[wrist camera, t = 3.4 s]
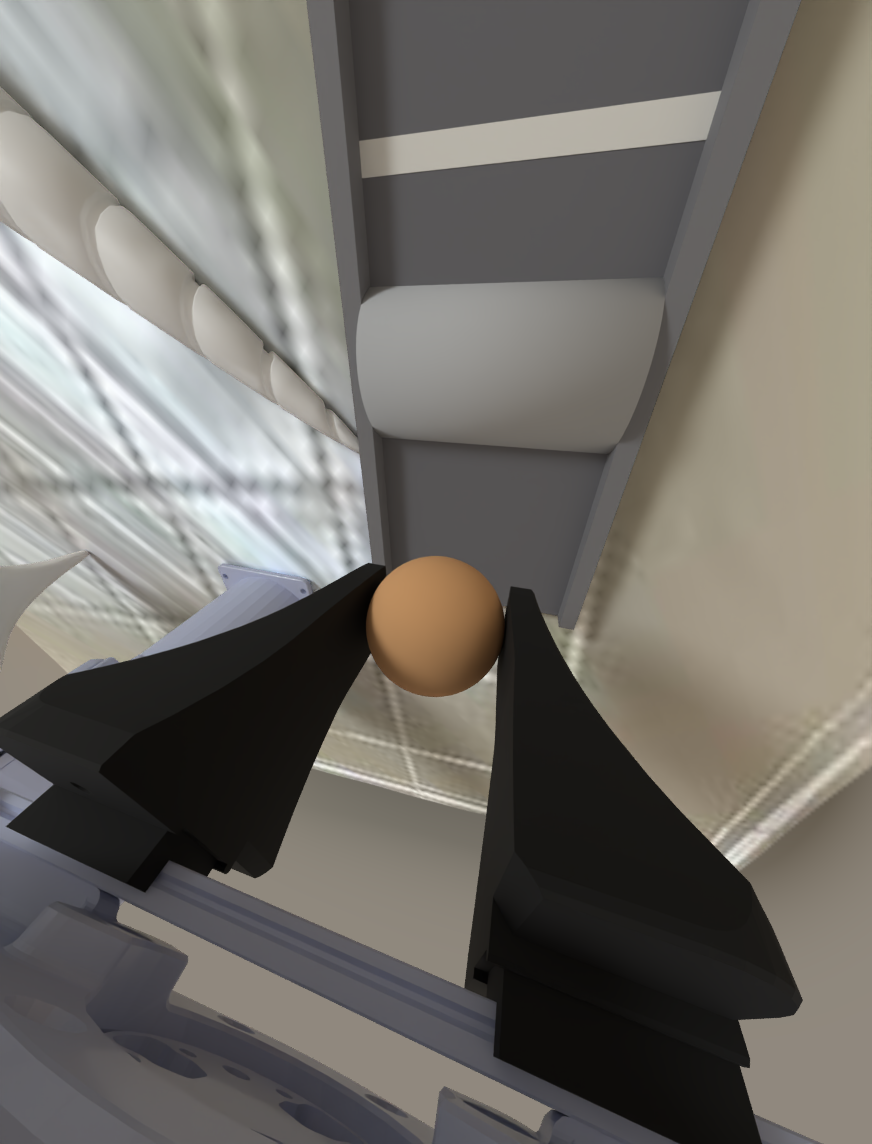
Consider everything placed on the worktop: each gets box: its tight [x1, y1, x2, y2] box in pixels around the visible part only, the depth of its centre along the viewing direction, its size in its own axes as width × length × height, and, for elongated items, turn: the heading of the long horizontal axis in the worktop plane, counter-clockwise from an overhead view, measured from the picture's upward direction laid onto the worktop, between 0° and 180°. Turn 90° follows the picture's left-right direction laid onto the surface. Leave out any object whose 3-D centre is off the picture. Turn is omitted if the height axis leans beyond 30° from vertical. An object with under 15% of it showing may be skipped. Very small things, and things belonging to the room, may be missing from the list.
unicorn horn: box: [0, 87, 360, 454], centre depth 13 cm, size 5×24×5 cm, turn 48°
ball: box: [366, 556, 505, 697], centre depth 9 cm, size 4×4×4 cm
